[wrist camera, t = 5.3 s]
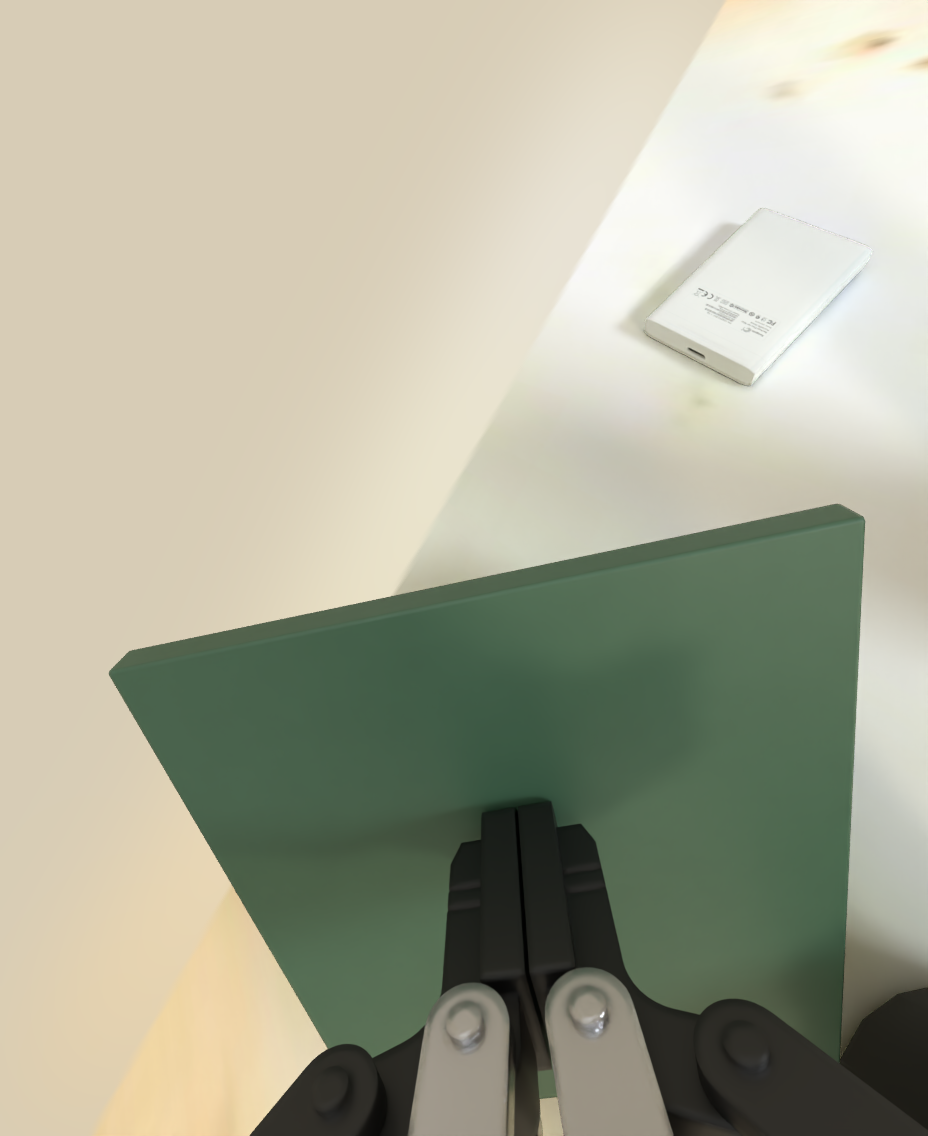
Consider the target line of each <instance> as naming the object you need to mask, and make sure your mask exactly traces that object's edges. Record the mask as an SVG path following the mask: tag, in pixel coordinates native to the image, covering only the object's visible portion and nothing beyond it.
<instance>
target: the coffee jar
mask: <svg viewBox="0 0 928 1136" xmlns="http://www.w3.org/2000/svg"><path fill="white" fill-rule="evenodd" d="M840 1064H841V1065H842V1066H844V1067H845V1068H846V1069H847V1070H849V1071H850V1072H851V1073H853V1074H854V1075H855V1076H857V1077H858V1078H859V1079H861V1080H862V1081H863V1082H865V1083H866V1084H867V1085H869V1086H870V1087H871V1088H873V1089H874V1090H875V1091H877V1092H878V1093H879V1094H881V1095H882V1096H883V1097H885V1098H886V1099H887V1100H889V1101H890V1102H891V1103H892V1104H894V1105H895V1106H896V1107H898V1108H899V1109H900V1110H902V1111H903V1112H904V1113H906V1114H907V1115H908V1116H910V1117H911V1118H912V1119H914V1120H915V1121H916V1122H918V1123H919V1124H920V1125H922V1126H923V1127H924V1128H926V1129H927V1130H928V988H924V989H920V990H915V991H911V992H906V993H901V994H897V995H896V996H894V997H893V998H892V999H890V1000H889V1001H888V1002H886V1003H885V1004H884V1005H882V1006H881V1007H879V1008H878V1009H877V1010H875V1011H874V1012H873V1013H871V1014H870V1015H869V1016H867V1017H866V1018H864V1019H863V1020H862V1022H861V1024H860V1026H859V1027H858V1029H857V1031H856V1033H855V1034H854V1036H853V1038H852V1040H851V1041H850V1043H849V1045H848V1047H847V1049H846V1050H845V1052H844V1054H843V1056H842V1057H841V1059H840Z"/></svg>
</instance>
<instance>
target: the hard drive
mask: <svg viewBox="0 0 928 1136" xmlns="http://www.w3.org/2000/svg"><path fill="white" fill-rule="evenodd" d="M871 255H872V249H871V248H870V247H868V246H866V245H864V244H862V243H859V242H856V241H853V240H851V239H848V238H845V237H842V236H840V235H837V234H834V233H832V232H829V231H826V230H824V229H821V228H818V227H816V226H813V225H810V224H807V223H805V222H802V221H799V220H797V219H794V218H791V217H789V216H785V215H783V214H780V213H778V212H775V211H772V210H769V209H765V208H760V209H758V210H757V211H756V213H754V214H753V215H752V216H751V217H750V218H749V219H748V220H747V221H746V222H745V223H744V224H743V225H742V226H741V227H740V228H739V229H738V230H737V231H736V232H735V233H734V234H733V235H732V236H731V237H730V238H729V239H728V240H727V241H726V242H725V243H724V244H722V245H721V246H720V247H719V248H718V249H717V250H716V251H715V252H714V253H713V254H712V255H711V256H710V257H709V258H708V259H707V260H706V261H705V262H704V263H703V264H702V265H701V266H700V267H699V268H698V269H697V270H696V271H695V272H694V273H693V274H692V275H691V276H690V277H688V278H687V279H686V280H685V281H684V282H683V283H682V284H681V285H680V286H679V287H678V288H677V289H676V290H675V291H674V292H673V293H672V294H671V295H670V296H669V297H668V298H667V299H666V300H665V301H664V302H663V303H662V304H661V305H660V306H659V307H658V308H657V309H656V310H654V311H653V312H652V313H651V314H650V315H649V316H648V317H647V318H646V319H645V327H644V332H645V333H646V334H647V335H648V336H650V337H651V338H653V339H655V340H657V341H659V342H661V343H663V344H664V345H666V346H668V347H670V348H672V349H674V350H676V351H678V352H680V353H682V354H684V355H686V356H688V357H690V358H692V359H694V360H695V361H697V362H699V363H701V364H703V365H705V366H707V367H709V368H711V369H713V370H715V371H717V372H719V373H721V374H723V375H725V376H727V377H729V378H730V379H732V380H734V381H736V382H738V383H740V384H743V385H747V386H751V385H752V384H753V383H754V382H755V381H756V380H757V379H758V378H759V377H760V376H761V374H763V372H764V371H765V370H766V369H767V368H768V367H769V366H770V365H771V364H772V363H773V362H774V361H775V360H776V359H777V358H778V357H779V356H780V355H781V354H782V353H783V352H784V351H785V350H786V349H787V347H788V346H789V345H790V344H791V343H792V342H793V341H794V340H795V339H796V338H797V337H798V336H799V335H800V334H801V333H802V332H803V331H804V330H805V329H806V328H807V327H808V326H809V324H810V323H811V322H812V321H813V320H814V319H815V318H816V317H817V316H818V315H819V314H820V313H821V312H822V311H823V310H824V309H825V308H826V307H827V305H828V304H829V303H830V302H831V301H832V300H833V299H834V298H835V297H836V296H837V295H838V294H839V293H840V292H841V291H842V290H843V289H844V288H845V287H846V286H847V285H848V284H849V282H850V281H851V280H852V279H853V278H854V277H855V276H856V275H857V274H858V273H859V272H860V271H861V270H862V269H863V268H864V267H865V266H866V264H867V263H868V261H869V259H870V257H871Z"/></svg>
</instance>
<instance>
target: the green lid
mask: <svg viewBox="0 0 928 1136" xmlns="http://www.w3.org/2000/svg"><path fill="white" fill-rule="evenodd" d="M864 532H865V520H864V518H863V516H861V515H859V514H857V513H855V512H854V511H852V510H850V509H848V508H846V507H844V506H843V505H841V504H833V505H828V506H824V507H819V508H814V509H809V510H804V511H800V512H795V513H790V514H785V515H780V516H775V517H771V518H766V519H761V520H756V521H751V522H747V523H742V524H737V525H732V526H727V527H723V528H718V529H713V530H708V531H703V532H699V533H694V534H689V535H684V536H679V537H675V538H670V539H665V540H660V541H655V542H651V543H646V544H641V545H636V546H631V547H627V548H622V549H617V550H612V551H607V552H603V553H598V554H593V555H588V556H583V557H579V558H574V559H569V560H564V561H559V562H555V563H550V564H545V565H540V566H535V567H531V568H526V569H521V570H516V571H511V572H507V573H502V574H497V575H492V576H487V577H482V578H478V579H473V580H468V581H463V582H458V583H454V584H449V585H444V586H439V587H434V588H430V589H425V590H420V591H415V592H410V593H406V594H401V595H396V596H391V597H386V598H382V599H377V600H372V601H367V602H363V603H358V604H353V605H348V606H343V607H339V608H334V609H329V610H324V611H319V612H315V613H310V614H305V615H300V616H296V617H290V618H286V619H281V620H276V621H271V622H266V623H262V624H257V625H252V626H247V627H243V628H238V629H233V630H228V631H223V632H219V633H214V634H209V635H204V636H199V637H194V638H189V639H185V640H180V641H176V642H170V643H166V644H161V645H156V646H152V647H146V648H142V649H137V650H132V651H129V652H128V653H127V654H126V655H125V656H124V657H123V658H122V659H121V660H120V661H119V662H118V663H117V664H116V665H115V666H114V667H113V668H112V669H111V670H110V671H109V676H110V677H111V679H112V681H113V682H114V684H115V686H116V688H117V689H118V691H119V693H120V694H121V696H122V698H123V699H124V701H125V703H126V704H127V706H128V708H129V710H130V711H131V713H132V715H133V717H134V718H135V720H136V722H137V723H138V725H139V727H140V729H141V730H142V732H143V734H144V735H145V737H146V739H147V740H148V742H149V744H150V746H151V747H152V749H153V751H154V753H155V754H156V756H157V757H158V759H159V761H160V763H161V764H162V766H163V768H164V770H165V771H166V773H167V774H168V776H169V778H170V780H171V781H172V783H173V785H174V787H175V788H176V790H177V792H178V793H179V795H180V797H181V799H182V800H183V802H184V804H185V805H186V807H187V809H188V811H189V812H190V814H191V816H192V817H193V819H194V821H195V822H196V824H197V826H198V828H199V829H200V831H201V833H202V834H203V836H204V838H205V840H206V841H207V843H208V844H209V846H210V848H211V850H212V851H213V853H214V855H215V856H216V858H217V860H218V862H219V863H220V865H221V867H222V868H223V870H224V872H225V874H226V875H227V877H228V879H229V881H230V882H231V884H232V886H233V887H234V889H235V891H236V893H237V894H238V896H239V898H240V899H241V901H242V903H243V905H244V906H245V908H246V910H247V911H248V913H249V915H250V916H251V918H252V920H253V922H254V923H255V925H256V927H257V928H258V930H259V932H260V934H261V935H262V937H263V939H264V940H265V942H266V944H267V946H268V947H269V949H270V951H271V952H272V954H273V956H274V957H275V959H276V961H277V963H278V964H279V966H280V968H281V969H282V971H283V973H284V975H285V976H286V978H287V980H288V981H289V983H290V985H291V986H292V988H293V990H294V992H295V993H296V995H297V997H298V998H299V1000H300V1002H301V1004H302V1005H303V1007H304V1009H305V1010H306V1012H307V1014H308V1016H309V1017H310V1019H311V1021H312V1022H313V1024H314V1026H315V1027H316V1029H317V1031H318V1033H319V1034H320V1036H321V1038H322V1039H323V1041H324V1043H325V1045H326V1046H327V1048H328V1049H329V1048H332V1047H334V1046H337V1045H341V1044H354V1045H357V1046H360V1047H362V1048H363V1049H365V1050H366V1051H367V1052H368V1053H369V1054H370V1055H371V1057H372V1058H373V1057H375V1056H377V1055H379V1054H381V1053H383V1052H385V1051H387V1050H389V1049H391V1048H393V1047H395V1046H397V1045H399V1044H401V1043H403V1042H404V1041H406V1040H408V1039H409V1038H411V1037H412V1036H414V1035H415V1034H416V1033H417V1032H418V1031H419V1030H420V1029H421V1028H422V1027H423V1026H424V1025H425V1024H426V1020H427V1018H428V1015H429V1013H430V1011H431V1009H432V1007H433V1006H434V1004H435V1003H436V1002H437V1000H438V999H439V998H440V995H441V989H442V980H443V965H444V951H445V937H446V922H447V912H448V894H449V879H450V865H451V863H452V861H453V859H454V857H455V855H456V853H457V851H458V849H459V847H460V845H461V843H463V842H469V841H476V840H481V816H482V813H483V812H489V811H495V810H501V809H507V808H513V807H516V809H517V813H518V806H524V805H530V804H536V803H542V802H548V801H552V805H553V809H554V813H555V817H556V822H557V826H558V827H562V826H568V825H574V824H582V825H583V826H584V828H585V829H586V830H587V831H588V833H589V834H590V835H591V836H592V838H593V839H594V840H595V841H596V845H597V849H598V854H599V858H600V862H601V867H602V871H603V876H604V880H605V884H606V889H607V893H608V897H609V902H610V906H611V910H612V915H613V919H614V924H615V928H616V932H617V937H618V941H619V945H620V950H621V954H622V958H623V962H624V966H625V969H626V971H627V973H628V975H629V977H630V978H631V980H632V981H633V983H634V984H635V985H636V986H637V987H638V989H639V990H640V991H641V992H643V993H644V994H645V995H646V996H647V997H649V998H650V999H652V1000H653V1001H655V1002H657V1003H659V1004H661V1005H664V1006H666V1007H670V1008H673V1009H677V1010H682V1011H686V1012H690V1013H695V1014H699V1015H700V1014H701V1013H702V1012H703V1011H704V1010H705V1009H706V1008H707V1007H708V1006H709V1005H711V1004H712V1003H714V1002H717V1001H720V1000H724V999H743V1000H747V1001H751V1002H754V1003H756V1004H758V1005H760V1006H762V1007H764V1008H766V1009H767V1010H769V1011H770V1012H772V1013H773V1014H775V1015H776V1016H777V1017H779V1018H780V1019H781V1020H783V1021H784V1022H785V1023H787V1024H788V1025H789V1026H791V1027H792V1028H793V1029H795V1030H796V1031H797V1032H799V1033H800V1034H801V1035H803V1036H804V1037H805V1038H806V1039H808V1040H809V1041H810V1042H812V1043H813V1044H814V1045H816V1046H817V1047H818V1048H820V1049H821V1050H822V1051H824V1052H825V1053H826V1054H828V1055H829V1056H830V1057H832V1058H833V1059H834V1060H836V1061H837V1062H838V1063H840V1043H841V1022H842V1001H843V979H844V958H845V937H846V915H847V894H848V873H849V851H850V830H851V809H852V788H853V766H854V745H855V724H856V702H857V681H858V660H859V639H860V617H861V596H862V575H863V553H864ZM551 1062H552V1059H551ZM537 1072H538V1086H539V1099H543V1098H552V1097H557V1091H556V1084H555V1078H554V1072H553V1066H552V1070H545V1071H537Z"/></svg>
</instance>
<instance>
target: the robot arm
mask: <svg viewBox="0 0 928 1136" xmlns="http://www.w3.org/2000/svg"><path fill="white" fill-rule="evenodd" d="M551 1059H552V1062H551ZM552 1066H553V1072H554V1078H555V1084H556V1091H557V1097H558V1103H559V1109H560V1115H561V1122H562V1128H563V1134H564V1136H928V1130H927V1129H926V1128H924V1127H923V1126H922V1125H920V1124H919V1123H918V1122H916V1121H915V1120H914V1119H912V1118H911V1117H910V1116H908V1115H907V1114H906V1113H904V1112H903V1111H902V1110H900V1109H899V1108H898V1107H896V1106H895V1105H894V1104H892V1103H891V1102H890V1101H889V1100H887V1099H886V1098H885V1097H883V1096H882V1095H881V1094H879V1093H878V1092H877V1091H875V1090H874V1089H873V1088H871V1087H870V1086H869V1085H867V1084H866V1083H865V1082H863V1081H862V1080H861V1079H859V1078H858V1077H857V1076H855V1075H854V1074H853V1073H851V1072H850V1071H849V1070H847V1069H846V1068H845V1067H844V1066H842V1065H841V1064H840V1063H838V1062H837V1061H836V1060H834V1059H833V1058H832V1057H830V1056H829V1055H828V1054H826V1053H825V1052H824V1051H822V1050H821V1049H820V1048H818V1047H817V1046H816V1045H814V1044H813V1043H812V1042H810V1041H809V1040H808V1039H806V1038H805V1037H804V1036H803V1035H801V1034H800V1033H799V1032H797V1031H796V1030H795V1029H793V1028H792V1027H791V1026H789V1025H788V1024H787V1023H785V1022H784V1021H783V1020H781V1019H780V1018H779V1017H777V1016H776V1015H775V1014H773V1013H772V1012H770V1011H769V1010H767V1009H766V1008H764V1007H762V1006H760V1005H758V1004H756V1003H754V1002H751V1001H747V1000H743V999H724V1000H720V1001H717V1002H714V1003H712V1004H711V1005H709V1006H708V1007H707V1008H706V1009H705V1010H704V1011H703V1012H702V1013H701V1014H700V1015H699V1014H695V1013H690V1012H686V1011H682V1010H677V1009H673V1008H670V1007H666V1006H664V1005H661V1004H659V1003H657V1002H655V1001H653V1000H652V999H650V998H649V997H647V996H646V995H645V994H644V993H643V992H641V991H640V990H639V989H638V987H637V986H636V985H635V984H634V983H633V981H632V980H631V978H630V977H629V975H628V973H627V971H626V969H625V966H624V962H623V958H622V954H621V950H620V945H619V941H618V937H617V932H616V928H615V924H614V919H613V915H612V910H611V906H610V902H609V897H608V893H607V889H606V884H605V880H604V876H603V871H602V867H601V862H600V858H599V854H598V849H597V845H596V841H595V840H594V839H593V838H592V836H591V835H590V834H589V833H588V831H587V830H586V829H585V828H584V826H583V825H582V824H574V825H568V826H562V827H558V826H557V822H556V817H555V813H554V809H553V805H552V801H548V802H542V803H536V804H530V805H524V806H518V813H517V809H516V807H513V808H507V809H501V810H495V811H489V812H483V813H482V816H481V840H476V841H469V842H463V843H461V845H460V847H459V849H458V851H457V853H456V855H455V857H454V859H453V861H452V863H451V865H450V879H449V894H448V912H447V922H446V937H445V951H444V965H443V980H442V989H441V995H440V998H439V999H438V1000H437V1002H436V1003H435V1004H434V1006H433V1007H432V1009H431V1011H430V1013H429V1015H428V1018H427V1020H426V1024H425V1025H424V1026H423V1027H422V1028H421V1029H420V1030H419V1031H418V1032H417V1033H416V1034H415V1035H414V1036H412V1037H411V1038H409V1039H408V1040H406V1041H404V1042H403V1043H401V1044H399V1045H397V1046H395V1047H393V1048H391V1049H389V1050H387V1051H385V1052H383V1053H381V1054H379V1055H377V1056H375V1057H373V1058H372V1057H371V1055H370V1054H369V1053H368V1052H367V1051H366V1050H365V1049H363V1048H362V1047H360V1046H357V1045H354V1044H341V1045H337V1046H334V1047H332V1048H329V1049H327V1050H326V1051H324V1052H323V1053H321V1054H320V1055H318V1056H317V1057H316V1058H315V1059H314V1060H313V1061H312V1062H311V1063H310V1064H309V1065H308V1066H307V1067H306V1068H305V1070H304V1071H303V1072H302V1073H301V1074H300V1076H299V1077H298V1078H297V1079H296V1080H295V1082H294V1083H293V1084H292V1085H291V1086H290V1088H289V1089H288V1090H287V1091H286V1092H285V1094H284V1095H283V1096H282V1097H281V1098H280V1100H279V1101H278V1102H277V1103H276V1104H275V1106H274V1107H273V1108H272V1109H271V1110H270V1112H269V1113H268V1114H267V1115H266V1116H265V1118H264V1119H263V1120H262V1121H261V1122H260V1124H259V1125H258V1126H257V1127H256V1128H255V1130H254V1131H253V1132H252V1133H251V1134H250V1136H543V1130H542V1122H541V1118H540V1100H539V1086H538V1072H537V1071H545V1070H552Z"/></svg>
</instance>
